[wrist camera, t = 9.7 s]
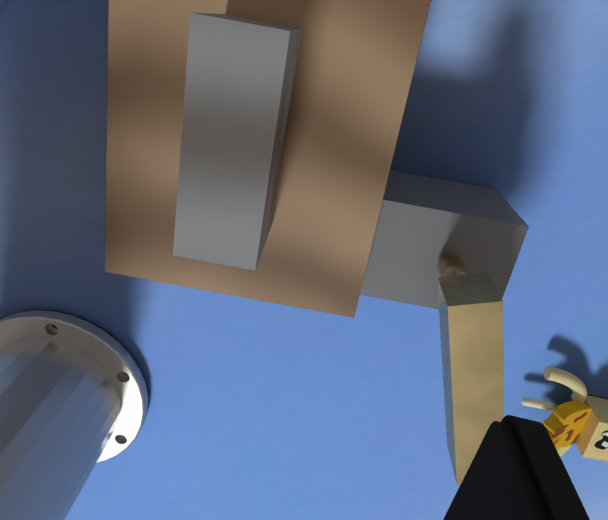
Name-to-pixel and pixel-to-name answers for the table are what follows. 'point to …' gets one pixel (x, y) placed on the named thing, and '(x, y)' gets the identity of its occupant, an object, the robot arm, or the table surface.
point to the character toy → (575, 418)
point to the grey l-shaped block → (439, 237)
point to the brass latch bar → (469, 358)
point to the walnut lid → (254, 142)
